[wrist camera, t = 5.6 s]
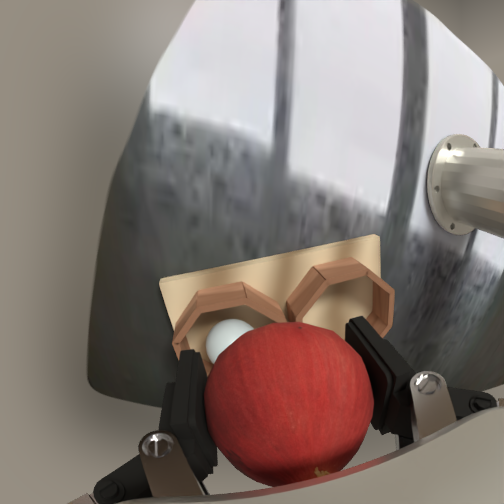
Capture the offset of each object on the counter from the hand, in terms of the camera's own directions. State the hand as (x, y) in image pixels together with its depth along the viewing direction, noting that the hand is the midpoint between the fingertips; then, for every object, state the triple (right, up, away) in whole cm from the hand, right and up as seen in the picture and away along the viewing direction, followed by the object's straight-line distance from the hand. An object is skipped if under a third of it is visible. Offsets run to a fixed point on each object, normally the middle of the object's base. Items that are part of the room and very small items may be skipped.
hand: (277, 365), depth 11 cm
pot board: (+2, -2, +19) cm, 19 cm away
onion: (0, 0, +2) cm, 2 cm away
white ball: (-3, -3, +17) cm, 18 cm away
